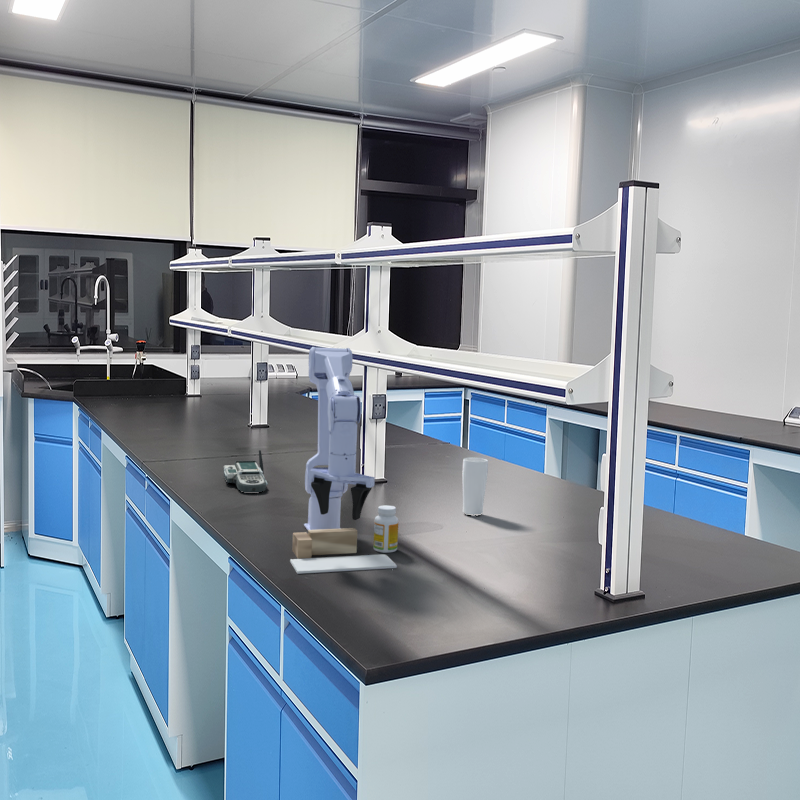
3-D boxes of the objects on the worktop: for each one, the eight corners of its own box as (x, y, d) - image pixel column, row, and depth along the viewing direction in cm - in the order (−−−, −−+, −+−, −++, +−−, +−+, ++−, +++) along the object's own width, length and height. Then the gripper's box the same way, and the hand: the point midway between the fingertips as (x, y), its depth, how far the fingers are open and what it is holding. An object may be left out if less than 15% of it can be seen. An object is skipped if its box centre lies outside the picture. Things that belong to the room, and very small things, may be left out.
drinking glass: (470, 518, 213) (473, 462, 211) (454, 512, 219) (457, 458, 217) (490, 516, 217) (493, 460, 215) (474, 510, 222) (477, 456, 221)
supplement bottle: (396, 546, 185) (398, 504, 184) (397, 553, 179) (399, 510, 178) (373, 545, 184) (375, 503, 183) (373, 552, 179) (375, 509, 178)
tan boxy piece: (292, 550, 178) (293, 528, 178) (351, 547, 182) (352, 525, 182) (297, 558, 172) (298, 535, 172) (358, 555, 177) (359, 533, 176)
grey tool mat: (290, 561, 170) (290, 559, 170) (385, 556, 177) (385, 554, 177) (297, 573, 162) (297, 571, 162) (396, 567, 169) (396, 565, 169)
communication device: (229, 496, 228) (230, 466, 227) (221, 478, 251) (221, 450, 249) (272, 495, 232) (273, 465, 231) (260, 477, 254) (261, 449, 253)
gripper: (302, 451, 169) (300, 515, 171) (364, 459, 163) (362, 525, 165) (319, 447, 176) (317, 508, 177) (380, 454, 170) (377, 518, 171)
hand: (340, 516), depth 171 cm, fingers open, 7 cm apart
